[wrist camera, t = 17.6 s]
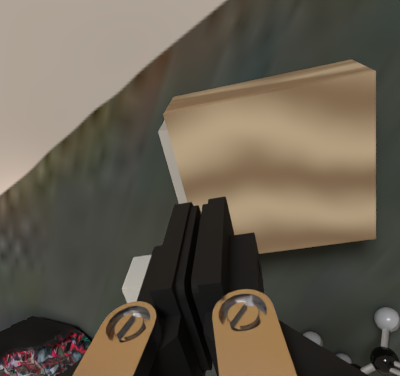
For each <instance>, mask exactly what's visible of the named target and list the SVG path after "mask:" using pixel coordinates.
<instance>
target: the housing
mask: <svg viewBox="0 0 400 376" xmlns="http://www.w3.org/2000/svg"><path fill="white" fill-rule="evenodd" d="M163 116H164V119H165V123H166V126H167V130H168V134H169V137H170V141H171V145H172V148H173V152H174V156H175V159H176V163H177V166H178V170H179V174H180V177H181V181H182V185H183V188H184V192H185V195H186V199H187V203H188V202H192V203H193V206H196V205H198V206H199V208H200V211H201V212H202V205H203V204H208V199H212V198H218V197H226V200H227V204H228V208H229V213H230V217H231V221H232V226H233V230H234V235H239V234H246V233H253V232H254V233H255V237H256V242H257V247H258V252H259V254H262V253H269V252H277V251H285V250H293V249H300V248H308V247H316V246H324V245H331V244H339V243H347V242H354V241H362V240H370V239H376V71H374V70H372V69H370V68H368V67H366V66H364V65H362V64H360V63H358V62H356V61H354V60H352V59H351V60H346V61H342V62H337V63H332V64H327V65H323V66H318V67H313V68H308V69H304V70H299V71H294V72H290V73H285V74H280V75H275V76H271V77H266V78H261V79H256V80H252V81H247V82H242V83H238V84H233V85H228V86H223V87H219V88H214V89H209V90H204V91H200V92H195V93H190V94H185V95H181V96H176V97H173V99H172V100H171V102H170V104H169V105H168V107H167V109H166V111H165V112H164V114H163Z"/></svg>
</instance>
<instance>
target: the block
mask: <svg viewBox="0 0 400 376" xmlns="http://www.w3.org/2000/svg"><path fill="white" fill-rule="evenodd" d="M150 258H151V255H147V256H140V257H134V258H133V260H132V263H131V266H130V268H129V271H128V274H127V276H126V279H125V282H124V284H123V287H122V291H123V294H124V296H125V298H126V301H127V303H130V302H136V301H137V298H138V295H139V292H140V289H141V286H142V283H143V280H144V277H145V274H146V271H147V267H148V264H149V261H150Z"/></svg>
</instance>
